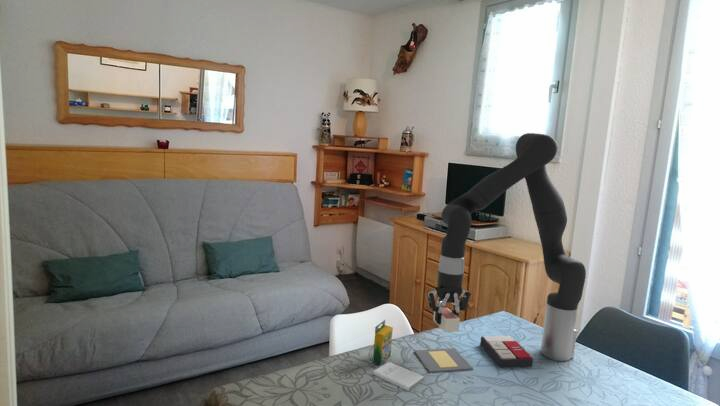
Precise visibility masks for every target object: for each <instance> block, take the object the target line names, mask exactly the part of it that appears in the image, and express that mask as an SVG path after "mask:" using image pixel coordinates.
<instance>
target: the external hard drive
mask: <svg viewBox="0 0 720 406" xmlns="http://www.w3.org/2000/svg"><path fill="white" fill-rule="evenodd" d="M372 375H374V376H375V377H378V378H381V379H383V380H385V381H387V382H389V383H391V384H393V385H395V386H397V387H400V388H401V389H404V390H406V391H407V392H409V391H411V390H413V389H414V388H415V387H417V386H418V385H420V384H421V383H422V382H424V381H425V376H423V375H421V374H418V373H417V372H414V371H411V370H409V369H406V368H405V367H402V366H400V365H398V364H395V363H393V362H390V361H388V362H386V363H385V364H383V365H380V367H377V368H376V369H374V370H373V371H372Z"/></svg>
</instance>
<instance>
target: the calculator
mask: <svg viewBox="0 0 720 406" xmlns="http://www.w3.org/2000/svg"><path fill="white" fill-rule="evenodd" d="M479 347H481V349H482V350H483V351H484V352H486V354H488V357H490V359H492V361H493V362H494V363H495V365H497V366H498V367H499V368H500V369H501V368H502V369H507V368H508V369H509V368H533V365H534V364H533V363H534V358H533V357H532V356H531V355H530V354H529V352H528V351H527V350H526V349H525V348H524V347H523V346H521V345H520V344H519V342H518V341H516V340H515V339H514V338H513V337H512V336H511V335H483V336H481V337H480V346H479Z"/></svg>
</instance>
